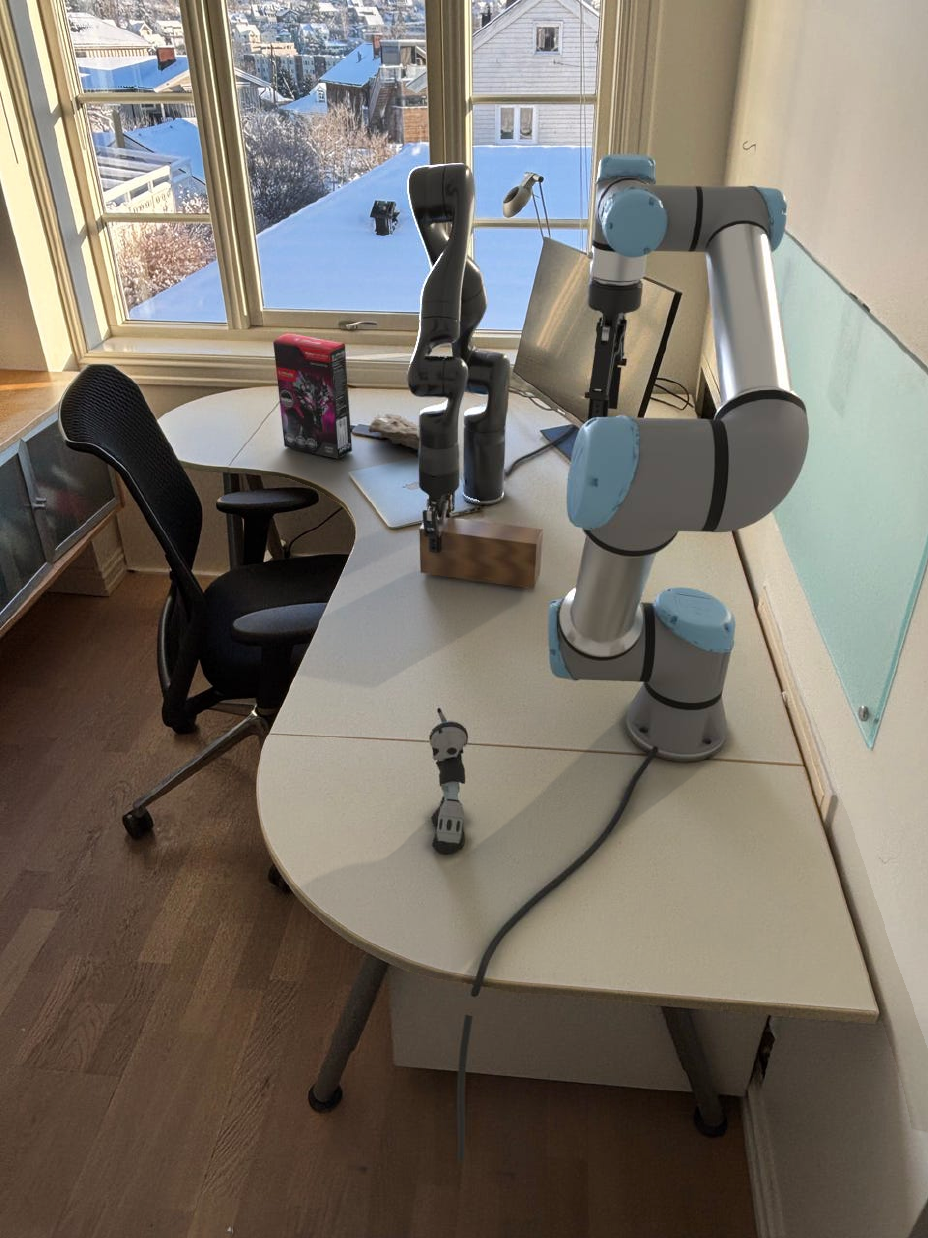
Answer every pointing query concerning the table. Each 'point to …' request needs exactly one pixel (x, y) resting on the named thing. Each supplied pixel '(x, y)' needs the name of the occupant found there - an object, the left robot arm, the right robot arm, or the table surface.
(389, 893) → the table surface
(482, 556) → the box
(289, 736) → the table surface
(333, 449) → the graphics card box
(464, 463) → the left robot arm
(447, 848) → the robot
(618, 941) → the table surface
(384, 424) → the stone
